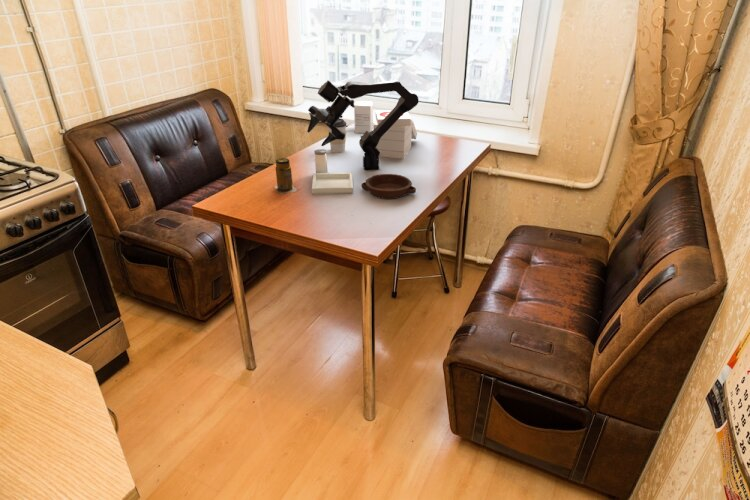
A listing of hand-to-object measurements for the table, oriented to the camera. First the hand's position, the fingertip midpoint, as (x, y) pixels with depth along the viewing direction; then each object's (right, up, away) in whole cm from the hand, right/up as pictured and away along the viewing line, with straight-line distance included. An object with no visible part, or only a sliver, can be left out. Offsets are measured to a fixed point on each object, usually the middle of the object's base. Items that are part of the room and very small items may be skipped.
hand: (314, 138), depth 202 cm
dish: (+31, -24, -12) cm, 41 cm away
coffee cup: (+7, +2, +32) cm, 33 cm away
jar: (+2, -14, +6) cm, 15 cm away
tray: (+8, -21, -6) cm, 23 cm away
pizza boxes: (+35, +3, +34) cm, 49 cm away
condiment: (-11, -23, -9) cm, 26 cm away
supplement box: (+19, +18, +59) cm, 65 cm away
